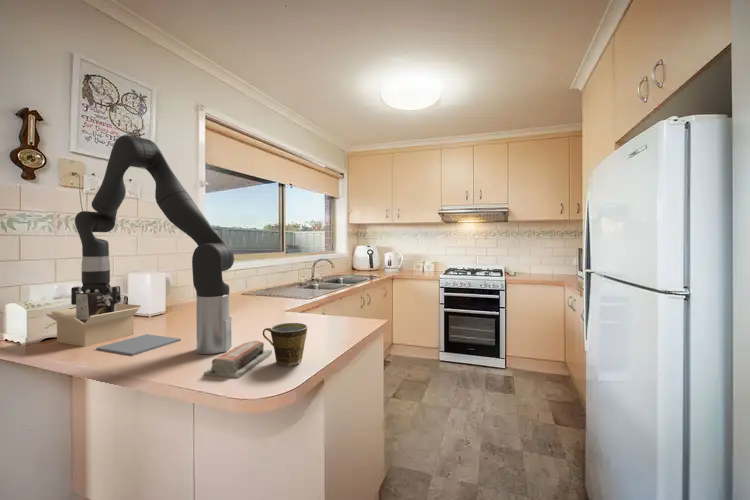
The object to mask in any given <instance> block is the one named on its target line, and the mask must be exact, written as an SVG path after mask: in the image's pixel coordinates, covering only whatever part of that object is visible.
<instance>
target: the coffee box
mask: <svg viewBox="0 0 750 500" xmlns="http://www.w3.org/2000/svg"><path fill="white" fill-rule="evenodd" d="M102 294H103V295H104V296H105V297H112V292H111V290H110V291H109V292H107V293H106V294H104V293H103V292H101V293H95V292H91V293H83V292H81V293H78V294H76V305H75V308H76V318H77V319H79V320H80V321H82V322H83V323H86V321H87V320H88V318H89V317H90V316H94V315H99V314H105V313H107V306H108V305H107V304H106V303H105V302H104V301H102V298H103V297H102ZM109 301H110V300H109ZM114 312H116V304H115V305H114Z"/></svg>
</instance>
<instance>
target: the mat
mask: <svg viewBox="0 0 750 500" xmlns="http://www.w3.org/2000/svg"><path fill="white" fill-rule="evenodd" d="M180 341H181V338H178V337H172V336H171V337H170V336H164V335H157V334H156V335H155V334H148V333H147V334H146V333H145V334H142V335H138V336H135V337H130V338H127V339H124V340H123V339H122V340H120V341H117V342H113V343H110V344H105V345H101V346H98V347H97V346H96V350H98V351H103V352H109V353H115V354H121V355H127V356H135V355H139V354H142V353H145V352H149V351H152V350H155V349H157V348H162V347H165V346H167V345H171V344H173V343H174V344H175V343H177V342H180Z"/></svg>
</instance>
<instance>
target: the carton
mask: <svg viewBox="0 0 750 500" xmlns="http://www.w3.org/2000/svg"><path fill="white" fill-rule="evenodd" d="M141 307H142V305H140V304H139V305H138V304H137V305H136V304H127V303H120V302H119V303H116V312H110V313H105V314H99V315H94V316H90V317H89V318H88V320H87V321H86V323H83V322H82V321H80V320H79V319H77V318H76V307H73V308H66V309H61V310H60V309H59V310H55V311H54V310H53V311H51V313H46V314H45V315H46V316H47V317H49V318H50V319H52V320H54V321H55V322H56V338H57V339H56V343H61V344H68V345H73V346H81V347H89V346H92V345H97V344H100V343H105V342H108V341H113V340H116V339H120V338H123V337H127V336H132V335H134V334H135V333H134V325H135V324H134V323H135V322H134V316H135V314H136V313H137V312H138V311H139V310H140V308H141Z"/></svg>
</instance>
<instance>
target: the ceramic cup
mask: <svg viewBox="0 0 750 500" xmlns="http://www.w3.org/2000/svg"><path fill="white" fill-rule="evenodd" d="M266 331H268V332H270V337H271V339H270V338H268V337H267V336H266V334H265V332H266ZM307 332H308V326H307V324H305V323H301V322H299V323H298V322H287V323H279V324H276V325H273V326H271V327H266V328H264V329H263V331H262V336H263V338H264V339H265V340H267V342H269V343H270V345H271V346H272V347H273V350H274V351H273V352H274V355H275V361H276V362H275V363H276V364H277V365H278V367H283V366H291V367H293V366H292V365H295V366H298V365H300V364H301V363H302V360H303V355H304V350H305V344H306V343H305V342H306V340H307V339H306V338H307ZM300 362H301V363H300ZM299 363H300V364H299ZM297 364H298V365H297Z"/></svg>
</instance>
